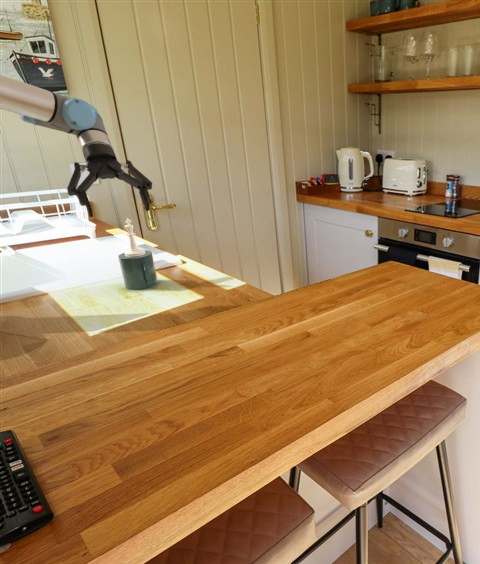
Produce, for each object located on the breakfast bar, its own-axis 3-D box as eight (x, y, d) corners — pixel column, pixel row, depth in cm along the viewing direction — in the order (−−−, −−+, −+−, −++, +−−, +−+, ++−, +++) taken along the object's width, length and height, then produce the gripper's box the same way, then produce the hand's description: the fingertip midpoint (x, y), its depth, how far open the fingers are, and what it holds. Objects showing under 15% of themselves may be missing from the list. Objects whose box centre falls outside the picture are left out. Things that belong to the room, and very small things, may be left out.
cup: (120, 285, 119) (113, 254, 116) (150, 277, 125) (144, 248, 122) (136, 294, 113) (129, 262, 110) (166, 285, 119) (160, 255, 116)
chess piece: (120, 256, 115) (111, 219, 111) (135, 250, 119) (127, 216, 116) (135, 257, 114) (127, 221, 110) (149, 252, 118) (142, 217, 115)
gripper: (145, 158, 133) (168, 213, 128) (45, 161, 117) (66, 224, 112) (146, 141, 127) (170, 198, 122) (41, 142, 112) (63, 208, 107)
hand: (120, 211), depth 117 cm, fingers open, 13 cm apart
